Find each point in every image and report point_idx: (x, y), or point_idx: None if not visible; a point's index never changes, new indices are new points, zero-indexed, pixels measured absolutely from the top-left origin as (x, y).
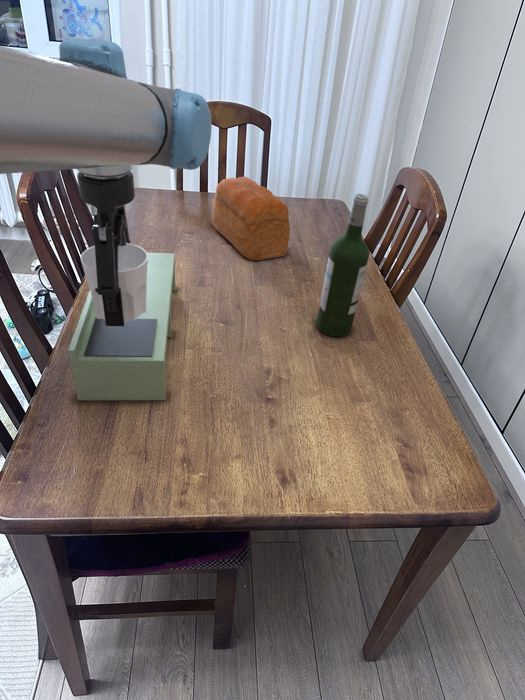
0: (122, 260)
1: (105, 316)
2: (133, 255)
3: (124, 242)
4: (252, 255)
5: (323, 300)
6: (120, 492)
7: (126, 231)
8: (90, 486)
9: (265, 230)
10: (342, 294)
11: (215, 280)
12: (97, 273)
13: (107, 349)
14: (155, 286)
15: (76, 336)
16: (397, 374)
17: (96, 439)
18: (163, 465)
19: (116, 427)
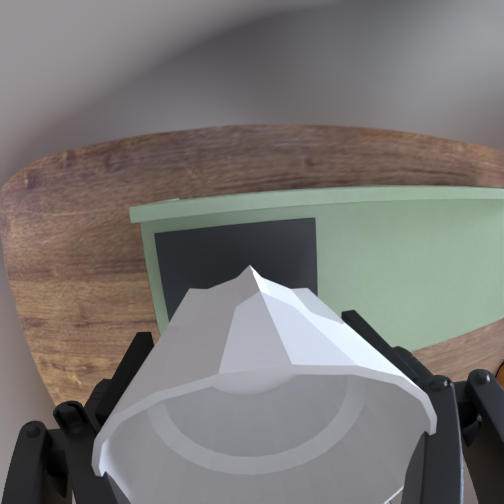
0: (376, 415)
1: (129, 350)
2: (368, 469)
3: (404, 487)
4: (502, 374)
5: None
6: (34, 302)
7: (470, 473)
8: (32, 267)
9: None
10: None
11: (475, 342)
12: (8, 484)
13: (184, 281)
14: (436, 316)
15: (188, 209)
16: None
17: (91, 255)
18: (75, 345)
19: (116, 278)
